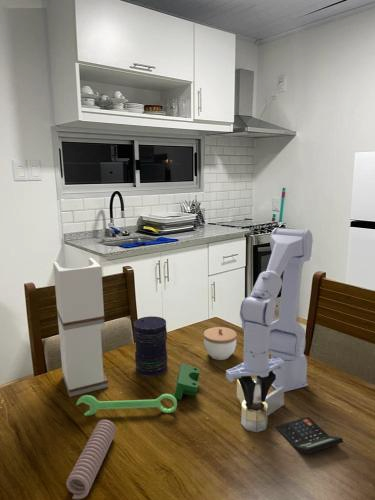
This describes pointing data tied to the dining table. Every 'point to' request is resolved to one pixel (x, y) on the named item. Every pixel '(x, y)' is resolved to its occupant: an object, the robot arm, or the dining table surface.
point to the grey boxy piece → (80, 326)
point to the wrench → (125, 403)
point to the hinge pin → (256, 395)
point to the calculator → (307, 435)
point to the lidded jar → (220, 342)
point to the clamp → (187, 381)
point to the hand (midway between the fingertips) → (254, 401)
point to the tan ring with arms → (259, 418)
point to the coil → (91, 459)
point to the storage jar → (150, 346)
